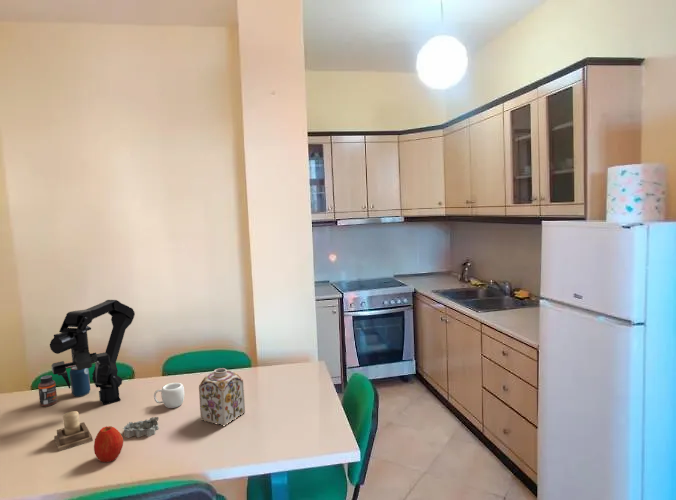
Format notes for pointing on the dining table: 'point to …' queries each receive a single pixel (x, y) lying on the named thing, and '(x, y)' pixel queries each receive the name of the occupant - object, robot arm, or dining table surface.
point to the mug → (171, 395)
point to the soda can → (79, 381)
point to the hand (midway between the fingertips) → (83, 384)
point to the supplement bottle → (47, 391)
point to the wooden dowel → (71, 423)
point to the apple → (108, 444)
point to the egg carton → (141, 428)
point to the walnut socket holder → (72, 438)
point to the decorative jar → (221, 396)
